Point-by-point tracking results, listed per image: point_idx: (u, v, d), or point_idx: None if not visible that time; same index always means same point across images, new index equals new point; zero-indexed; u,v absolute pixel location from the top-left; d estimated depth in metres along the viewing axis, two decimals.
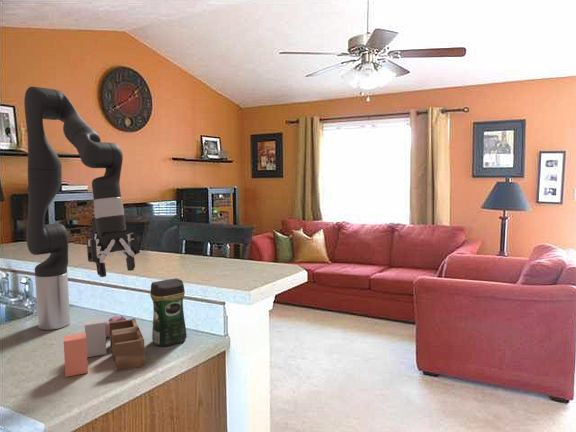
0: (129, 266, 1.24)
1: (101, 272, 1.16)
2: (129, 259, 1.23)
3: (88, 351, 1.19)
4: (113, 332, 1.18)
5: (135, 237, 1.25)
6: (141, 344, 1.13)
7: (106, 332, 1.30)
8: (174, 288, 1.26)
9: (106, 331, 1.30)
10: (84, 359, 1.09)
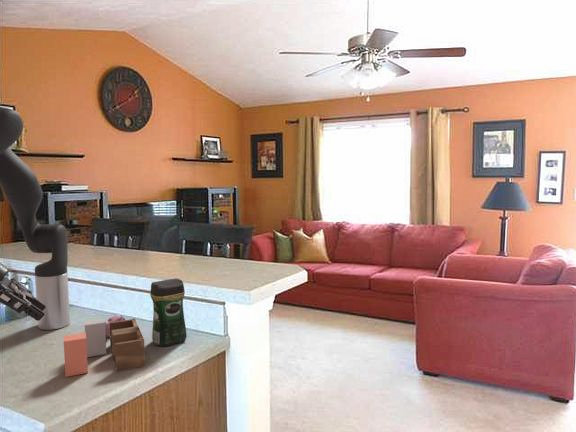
0: None
1: None
2: None
3: (88, 351, 1.19)
4: (113, 332, 1.18)
5: None
6: (141, 344, 1.13)
7: (105, 332, 1.30)
8: (174, 288, 1.26)
9: (105, 331, 1.30)
10: (84, 359, 1.09)
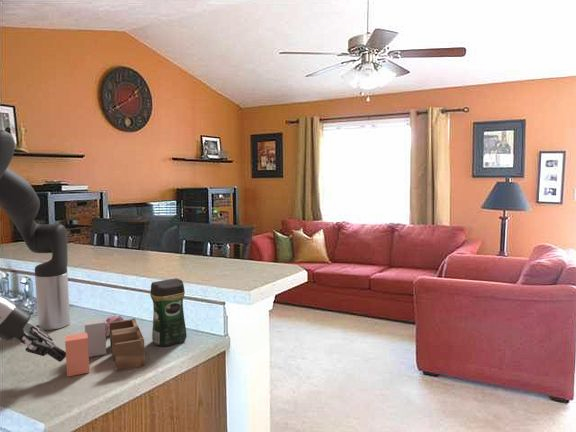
0: None
1: None
2: None
3: (88, 351, 1.19)
4: (113, 332, 1.18)
5: None
6: (141, 344, 1.13)
7: None
8: (174, 288, 1.26)
9: None
10: (85, 359, 1.09)
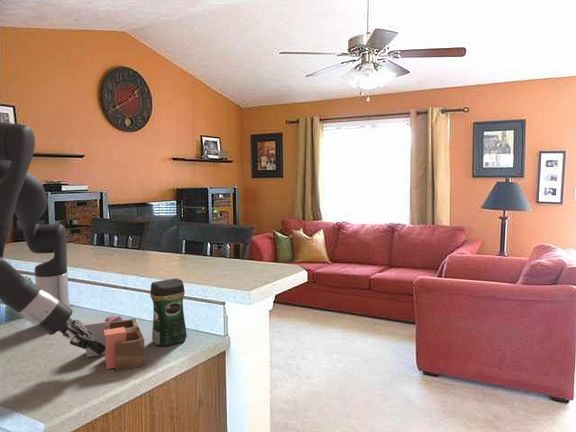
0: None
1: None
2: None
3: (88, 351, 1.19)
4: None
5: None
6: (141, 344, 1.13)
7: None
8: (174, 288, 1.26)
9: None
10: None
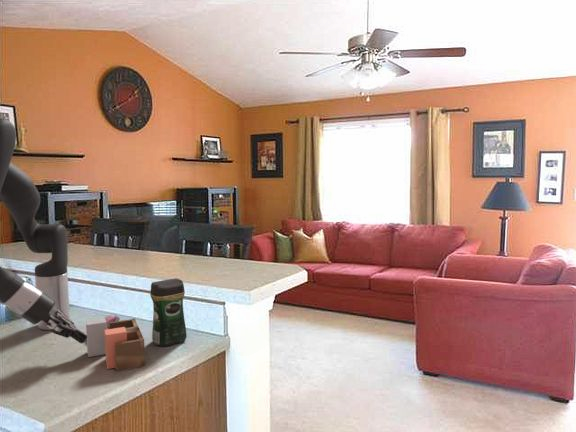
0: None
1: None
2: None
3: (89, 351, 1.19)
4: None
5: None
6: (141, 344, 1.13)
7: None
8: (174, 288, 1.26)
9: None
10: None
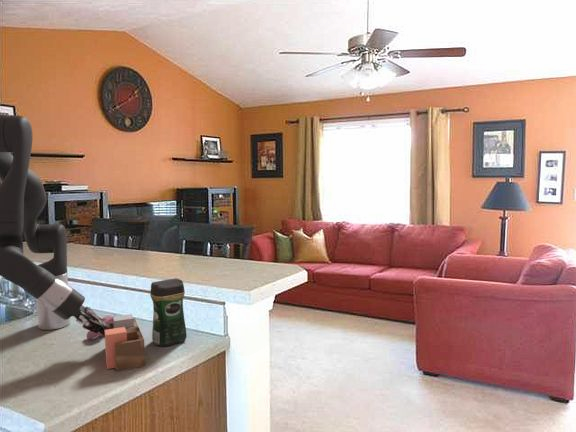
0: None
1: None
2: None
3: None
4: None
5: None
6: (141, 344, 1.13)
7: None
8: (174, 288, 1.26)
9: None
10: None
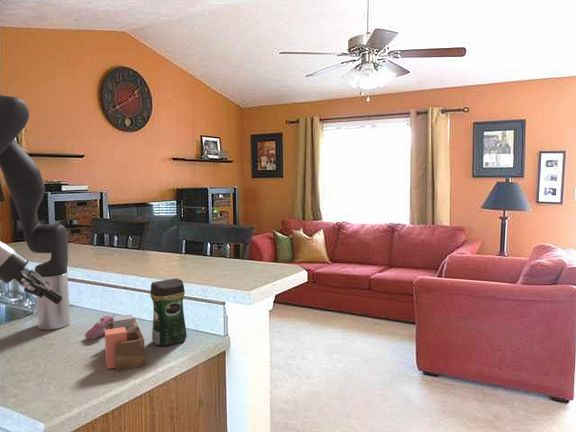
0: None
1: None
2: None
3: None
4: None
5: None
6: (141, 344, 1.13)
7: (98, 331, 1.31)
8: (174, 288, 1.26)
9: (98, 331, 1.31)
10: None
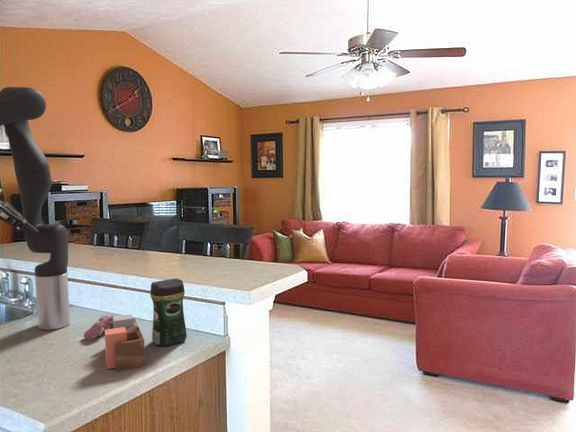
0: None
1: None
2: None
3: None
4: None
5: (1, 219, 1.06)
6: (141, 344, 1.13)
7: (96, 331, 1.31)
8: (174, 288, 1.26)
9: (96, 331, 1.31)
10: None
